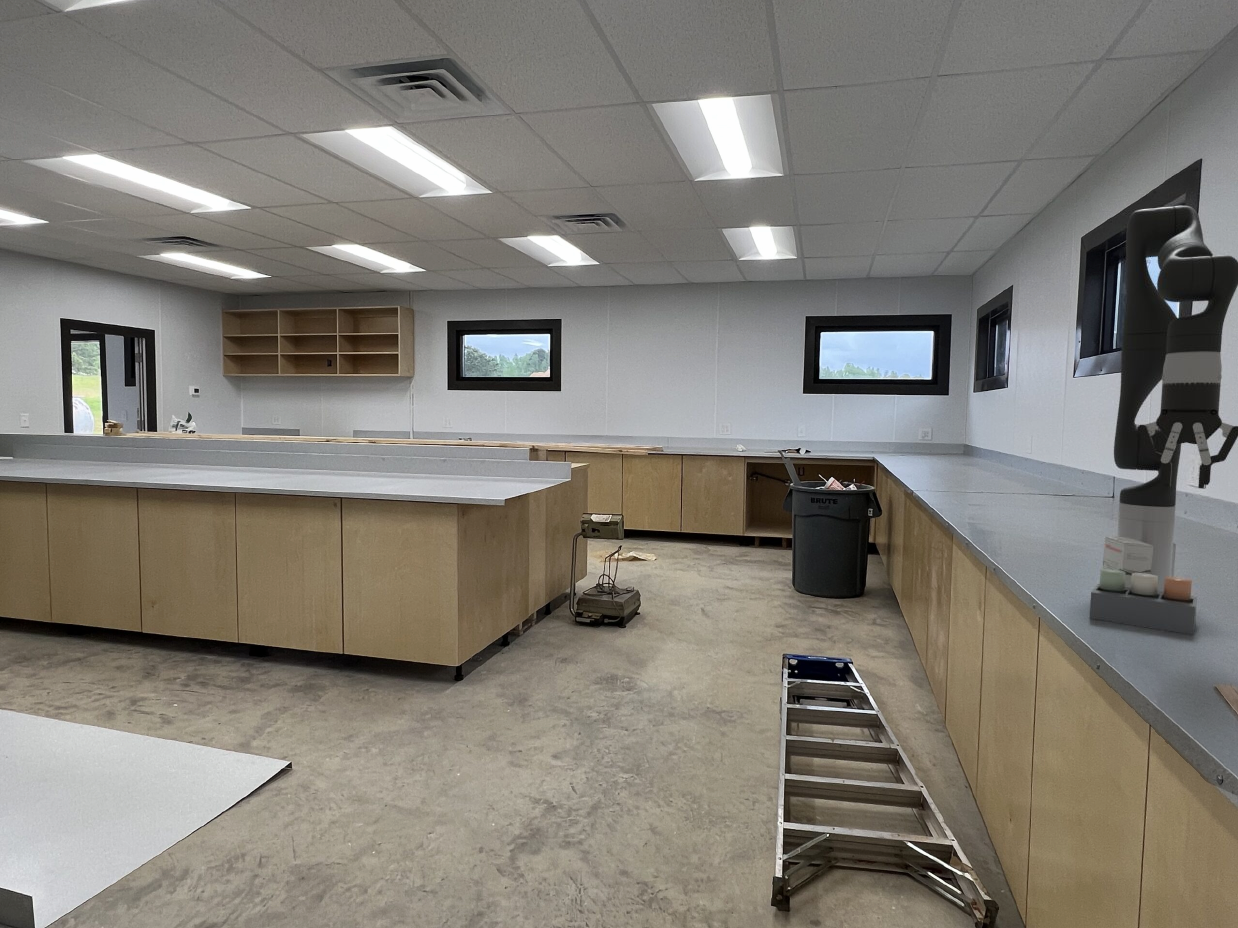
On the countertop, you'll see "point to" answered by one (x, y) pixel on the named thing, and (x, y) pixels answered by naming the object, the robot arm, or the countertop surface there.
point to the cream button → (1144, 584)
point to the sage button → (1112, 579)
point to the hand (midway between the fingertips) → (1184, 486)
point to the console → (1144, 610)
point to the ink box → (1127, 556)
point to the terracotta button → (1177, 588)
